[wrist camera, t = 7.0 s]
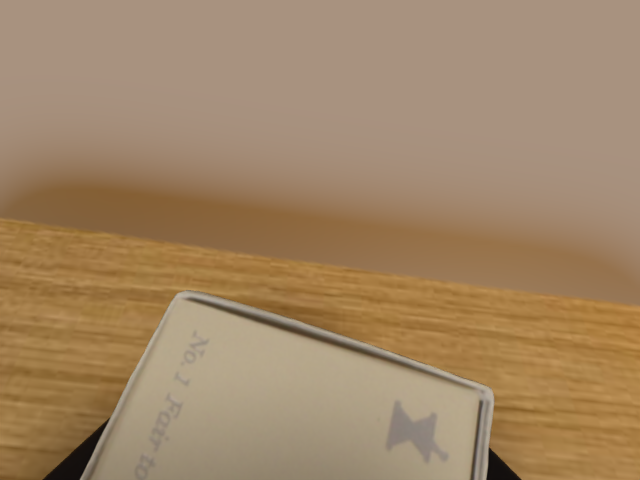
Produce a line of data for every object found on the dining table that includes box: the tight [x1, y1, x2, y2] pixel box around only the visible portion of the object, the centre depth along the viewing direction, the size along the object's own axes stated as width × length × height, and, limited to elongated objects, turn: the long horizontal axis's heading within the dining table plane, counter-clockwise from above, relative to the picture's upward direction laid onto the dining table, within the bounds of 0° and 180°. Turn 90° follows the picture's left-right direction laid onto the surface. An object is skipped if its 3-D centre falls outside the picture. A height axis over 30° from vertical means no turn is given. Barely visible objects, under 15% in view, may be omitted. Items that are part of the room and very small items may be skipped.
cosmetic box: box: [80, 290, 494, 480], centre depth 9 cm, size 6×4×12 cm
